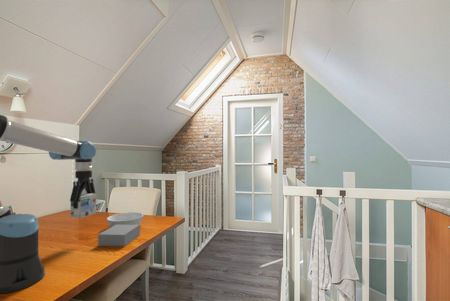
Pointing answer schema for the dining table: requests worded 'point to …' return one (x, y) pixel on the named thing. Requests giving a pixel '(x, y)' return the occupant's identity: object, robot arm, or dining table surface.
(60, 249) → the dining table surface
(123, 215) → the serving bowl
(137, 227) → the grey block
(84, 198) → the light bulb box
